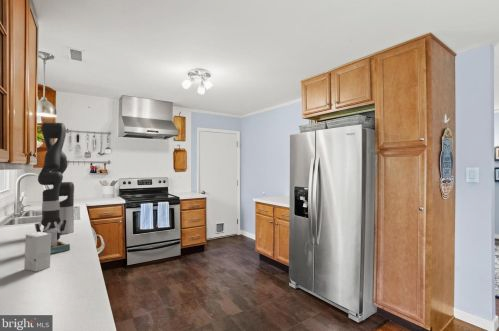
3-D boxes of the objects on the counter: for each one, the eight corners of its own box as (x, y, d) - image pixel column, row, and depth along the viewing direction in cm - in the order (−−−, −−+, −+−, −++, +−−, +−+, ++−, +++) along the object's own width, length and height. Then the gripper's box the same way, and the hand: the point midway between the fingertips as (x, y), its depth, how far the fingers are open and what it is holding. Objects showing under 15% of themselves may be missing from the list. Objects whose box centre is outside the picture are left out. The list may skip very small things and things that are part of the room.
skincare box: (23, 269, 112) (23, 234, 112) (39, 264, 118) (39, 231, 118) (36, 272, 109) (36, 236, 109) (51, 267, 115) (51, 232, 115)
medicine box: (57, 245, 140) (57, 228, 140) (46, 247, 137) (46, 230, 137) (55, 242, 146) (55, 226, 146) (45, 243, 143) (45, 227, 143)
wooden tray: (34, 246, 145) (34, 240, 145) (53, 242, 152) (53, 237, 152) (48, 254, 131) (48, 248, 131) (69, 250, 138) (69, 244, 138)
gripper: (36, 211, 133) (36, 245, 133) (69, 208, 145) (69, 239, 145) (32, 210, 138) (32, 243, 138) (64, 206, 149) (64, 237, 149)
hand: (51, 240), depth 141 cm, fingers closed on medicine box, 5 cm apart
